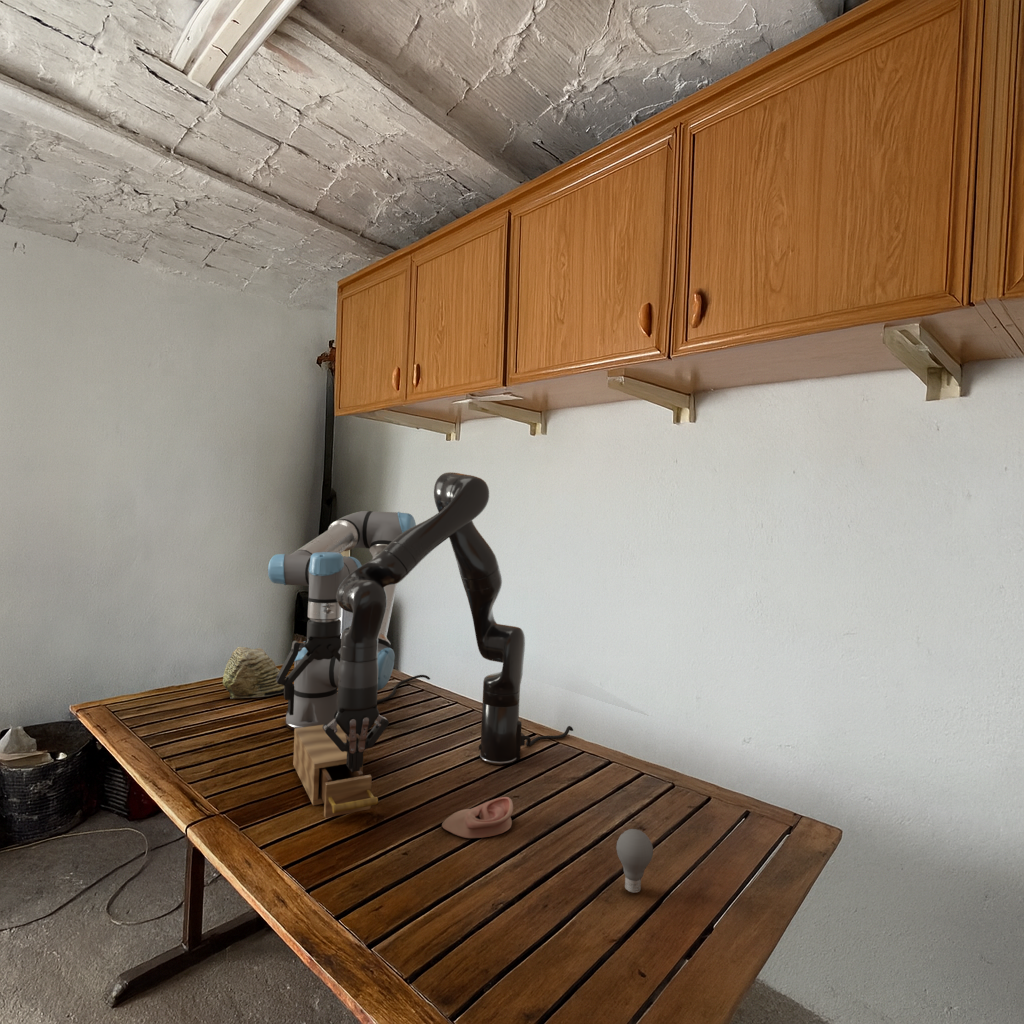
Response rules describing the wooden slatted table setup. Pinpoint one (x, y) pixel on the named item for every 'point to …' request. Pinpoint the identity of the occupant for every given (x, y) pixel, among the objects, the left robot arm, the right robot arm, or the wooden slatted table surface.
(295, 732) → the cabinet
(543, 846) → the wooden slatted table surface
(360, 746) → the right robot arm
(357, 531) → the left robot arm
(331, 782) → the drawer
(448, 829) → the anatomical model
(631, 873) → the light bulb
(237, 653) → the fossil
